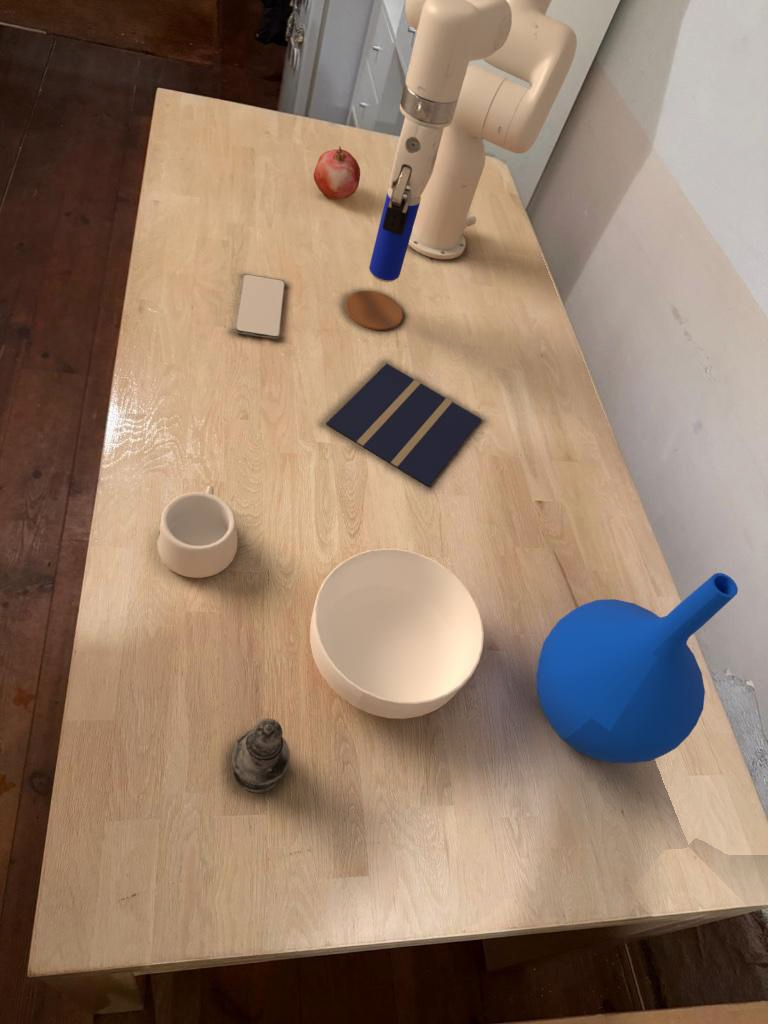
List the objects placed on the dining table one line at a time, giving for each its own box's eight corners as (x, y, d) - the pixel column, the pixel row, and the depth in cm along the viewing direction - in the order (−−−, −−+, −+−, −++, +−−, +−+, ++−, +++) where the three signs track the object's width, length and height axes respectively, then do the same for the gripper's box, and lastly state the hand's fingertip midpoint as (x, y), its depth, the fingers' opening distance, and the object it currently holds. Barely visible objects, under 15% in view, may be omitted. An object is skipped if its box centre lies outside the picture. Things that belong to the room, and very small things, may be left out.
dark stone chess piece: (231, 739, 80) (238, 695, 70) (285, 739, 81) (300, 696, 72) (228, 796, 76) (236, 757, 67) (286, 795, 78) (301, 756, 68)
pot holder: (386, 364, 121) (386, 363, 121) (480, 420, 118) (481, 418, 118) (325, 424, 110) (326, 423, 110) (428, 487, 107) (428, 485, 107)
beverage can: (402, 271, 124) (426, 188, 113) (393, 287, 121) (416, 204, 110) (374, 260, 125) (395, 176, 113) (364, 275, 121) (384, 190, 110)
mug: (228, 587, 91) (231, 561, 86) (147, 572, 89) (146, 545, 85) (247, 510, 98) (250, 482, 93) (173, 496, 97) (173, 466, 92)
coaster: (375, 286, 133) (375, 284, 133) (413, 318, 130) (414, 317, 130) (334, 303, 128) (334, 301, 127) (373, 337, 125) (373, 335, 124)
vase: (680, 766, 90) (857, 658, 67) (550, 801, 84) (694, 696, 60) (614, 631, 99) (747, 497, 76) (492, 653, 93) (598, 514, 70)
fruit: (335, 176, 152) (344, 127, 145) (365, 201, 149) (376, 153, 142) (300, 185, 148) (307, 135, 140) (331, 211, 144) (340, 162, 137)
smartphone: (234, 330, 117) (243, 273, 126) (234, 333, 118) (243, 275, 127) (279, 338, 118) (285, 280, 127) (278, 340, 119) (284, 283, 128)
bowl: (483, 630, 95) (506, 597, 88) (425, 764, 83) (447, 738, 76) (348, 559, 97) (361, 521, 90) (272, 680, 85) (280, 647, 78)
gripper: (440, 138, 96) (406, 258, 110) (466, 89, 107) (432, 205, 121) (386, 118, 96) (358, 241, 110) (417, 71, 107) (389, 188, 121)
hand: (397, 221), depth 115 cm, fingers closed on beverage can, 5 cm apart
